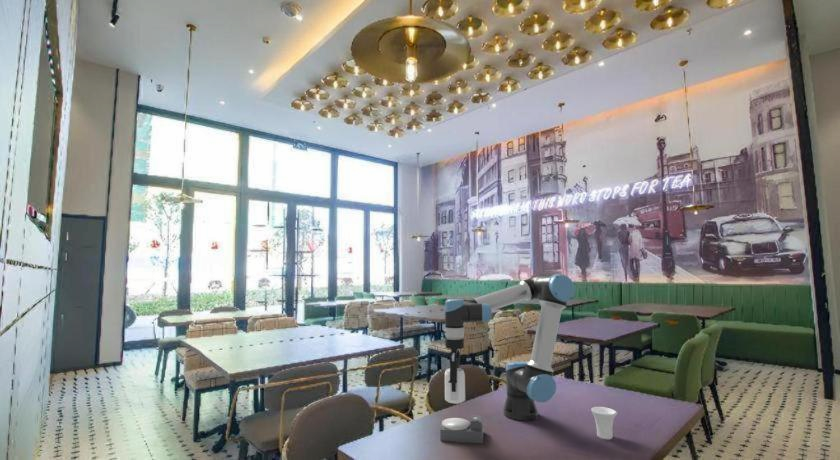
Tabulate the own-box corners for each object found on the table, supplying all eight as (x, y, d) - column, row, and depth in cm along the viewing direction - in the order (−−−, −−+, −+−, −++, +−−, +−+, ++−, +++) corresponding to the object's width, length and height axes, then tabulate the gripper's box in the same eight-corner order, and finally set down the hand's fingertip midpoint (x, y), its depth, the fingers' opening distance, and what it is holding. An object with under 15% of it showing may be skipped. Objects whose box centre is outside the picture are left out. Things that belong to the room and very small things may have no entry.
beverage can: (464, 404, 151) (463, 372, 153) (443, 403, 153) (443, 371, 154) (466, 398, 159) (465, 368, 161) (446, 397, 161) (446, 367, 162)
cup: (617, 443, 147) (615, 415, 148) (590, 437, 152) (589, 411, 153) (619, 435, 154) (618, 408, 155) (594, 430, 159) (592, 404, 160)
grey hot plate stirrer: (483, 431, 158) (482, 411, 159) (482, 443, 147) (482, 421, 148) (443, 429, 161) (443, 409, 162) (440, 440, 150) (440, 419, 151)
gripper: (448, 333, 170) (448, 388, 167) (441, 342, 149) (442, 404, 147) (465, 334, 168) (466, 389, 166) (461, 342, 148) (462, 405, 145)
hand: (455, 396), depth 156 cm, fingers closed on beverage can, 8 cm apart
